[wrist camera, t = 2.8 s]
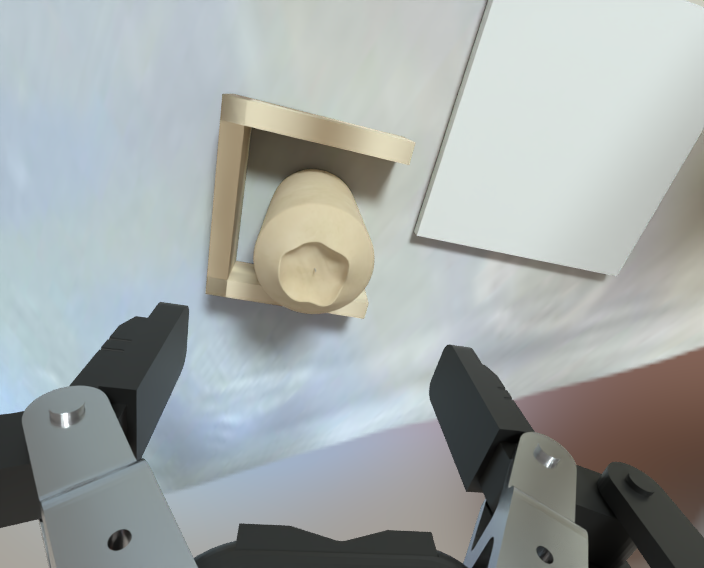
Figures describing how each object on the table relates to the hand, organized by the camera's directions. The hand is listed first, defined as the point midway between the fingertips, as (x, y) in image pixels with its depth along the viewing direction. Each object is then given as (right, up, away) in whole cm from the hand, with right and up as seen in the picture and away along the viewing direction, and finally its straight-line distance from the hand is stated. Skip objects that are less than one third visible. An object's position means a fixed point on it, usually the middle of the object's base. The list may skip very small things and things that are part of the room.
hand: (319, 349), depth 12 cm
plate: (+15, +11, +13) cm, 23 cm away
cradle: (-2, +7, +13) cm, 15 cm away
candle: (-2, +7, +13) cm, 15 cm away
